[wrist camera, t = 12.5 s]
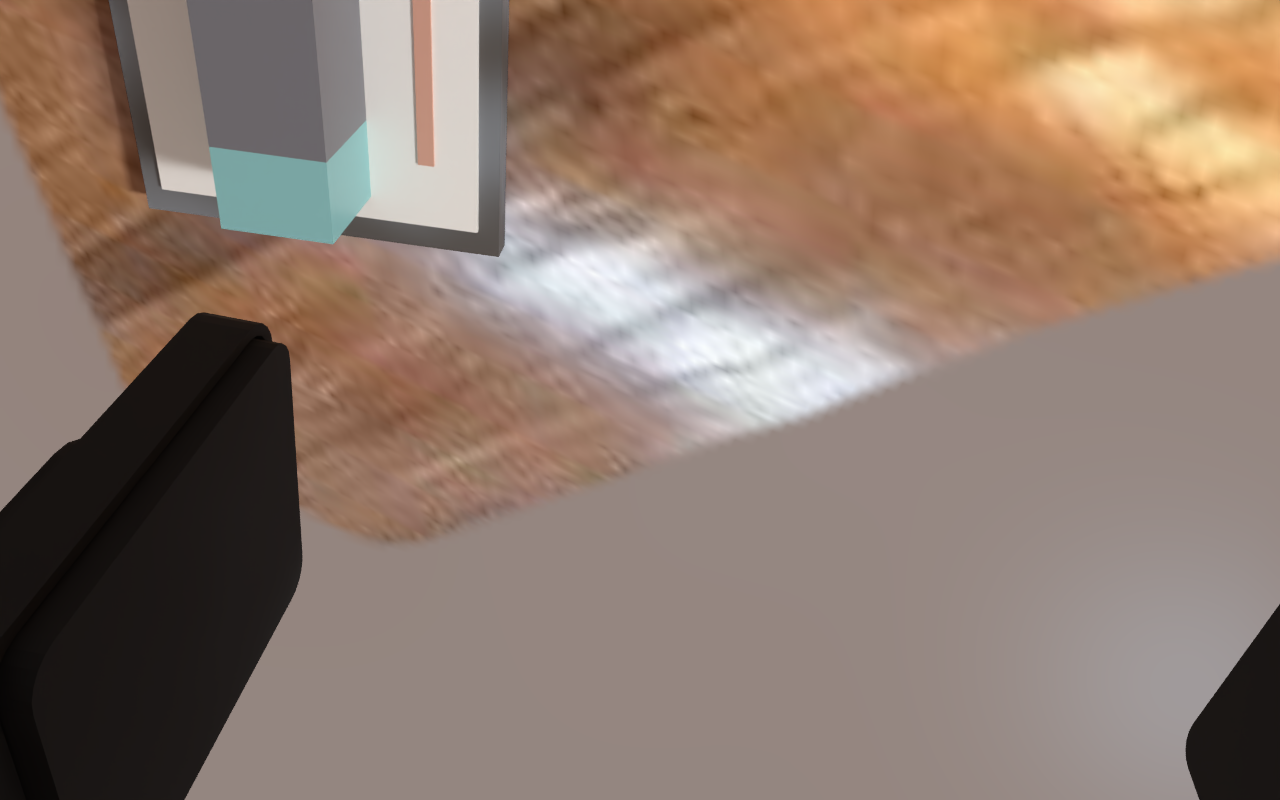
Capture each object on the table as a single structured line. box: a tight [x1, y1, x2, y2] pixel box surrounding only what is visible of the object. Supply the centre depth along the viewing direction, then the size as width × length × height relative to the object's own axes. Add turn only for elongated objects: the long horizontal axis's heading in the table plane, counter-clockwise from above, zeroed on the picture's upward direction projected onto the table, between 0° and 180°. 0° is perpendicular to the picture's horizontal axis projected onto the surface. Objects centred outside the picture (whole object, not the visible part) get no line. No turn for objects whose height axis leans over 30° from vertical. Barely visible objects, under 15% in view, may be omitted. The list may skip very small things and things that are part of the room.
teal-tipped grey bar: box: [186, 0, 371, 244], centre depth 34 cm, size 14×4×4 cm, turn 175°
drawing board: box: [109, 0, 509, 257], centre depth 36 cm, size 17×14×1 cm
